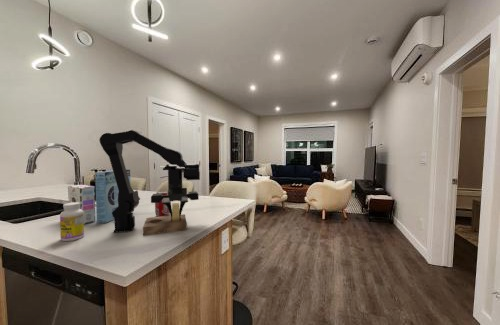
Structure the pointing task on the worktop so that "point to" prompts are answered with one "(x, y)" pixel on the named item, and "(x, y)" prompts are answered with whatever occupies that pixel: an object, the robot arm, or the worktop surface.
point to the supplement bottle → (71, 222)
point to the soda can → (161, 206)
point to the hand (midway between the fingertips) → (175, 216)
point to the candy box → (84, 200)
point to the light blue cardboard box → (106, 195)
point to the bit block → (164, 225)
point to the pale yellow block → (175, 212)
